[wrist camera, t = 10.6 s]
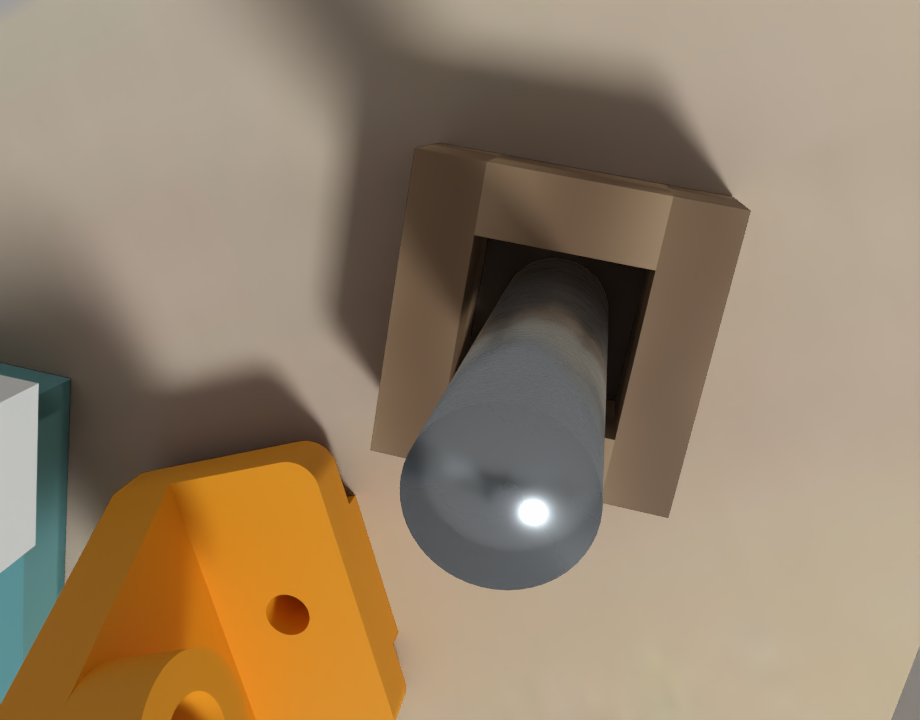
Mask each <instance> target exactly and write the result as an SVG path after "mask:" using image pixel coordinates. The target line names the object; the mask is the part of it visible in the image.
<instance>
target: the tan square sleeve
mask: <svg viewBox="0 0 920 720" xmlns="http://www.w3.org/2000/svg"><path fill="white" fill-rule="evenodd" d="M750 212H751V211H750V210H749V209H748V208H747V207H745V206H744V205H743V204H742V203H740V202H739V201H738V200H736V199H735V198H734V197H730V196H725V195H719V194H714V193H709V192H703V191H698V190H692V189H687V188H681V187H676V186H671V185H665V184H660V183H654V182H649V181H644V180H638V179H633V178H627V177H622V176H616V175H611V174H606V173H600V172H595V171H589V170H584V169H579V168H573V167H568V166H562V165H557V164H551V163H546V162H541V161H535V160H530V159H524V158H519V157H513V156H508V155H503V154H497V153H492V152H486V151H481V150H476V149H470V148H465V147H459V146H454V145H448V144H443V143H436V144H432V145H427V146H423V147H418V148H415V149H414V156H413V163H412V170H411V177H410V184H409V190H408V197H407V204H406V211H405V218H404V224H403V231H402V238H401V245H400V252H399V258H398V265H397V272H396V279H395V286H394V292H393V299H392V306H391V313H390V320H389V327H388V333H387V340H386V347H385V354H384V361H383V367H382V374H381V381H380V388H379V395H378V401H377V408H376V415H375V422H374V429H373V435H372V442H371V449H370V450H372V451H376V452H380V453H385V454H389V455H394V456H398V457H402V458H407V455H408V453H409V451H410V449H411V448H412V446H413V444H414V442H415V441H416V439H417V437H418V436H419V434H420V432H421V431H422V429H423V427H424V426H425V424H426V422H427V421H428V419H429V417H430V416H431V414H432V412H433V410H434V409H435V407H436V405H437V404H438V402H439V400H440V399H441V397H442V395H443V394H444V392H445V390H446V389H447V387H448V385H449V384H450V382H451V380H452V378H453V377H454V375H455V373H456V372H457V370H458V368H459V367H460V365H461V363H462V362H463V360H464V358H465V357H466V355H467V353H468V347H469V342H470V336H471V331H472V325H473V319H474V314H475V308H476V302H477V297H478V291H479V285H480V280H481V274H482V269H483V263H484V257H485V252H486V246H487V240H488V238H492V239H497V240H502V241H507V242H512V243H517V244H522V245H527V246H533V247H538V248H543V249H548V250H553V251H558V252H563V253H568V254H573V255H578V256H584V257H589V258H594V259H599V260H604V261H609V262H614V263H619V264H624V265H630V266H635V267H640V268H645V269H646V272H645V276H644V280H643V284H642V289H641V293H640V297H639V301H638V306H637V310H636V314H635V318H634V322H633V327H632V331H631V335H630V339H629V344H628V348H627V352H626V356H625V361H624V365H623V369H622V373H621V377H620V382H619V386H618V390H617V394H616V399H615V401H614V400H609V399H606V413H605V444H604V475H603V503H605V504H609V505H614V506H618V507H622V508H627V509H631V510H636V511H640V512H644V513H649V514H653V515H658V516H662V517H666V518H668V517H669V513H670V510H671V506H672V502H673V498H674V495H675V491H676V487H677V484H678V480H679V476H680V472H681V469H682V465H683V461H684V457H685V454H686V450H687V446H688V443H689V439H690V435H691V431H692V428H693V424H694V420H695V416H696V413H697V409H698V405H699V402H700V398H701V394H702V390H703V387H704V383H705V379H706V376H707V372H708V368H709V364H710V361H711V357H712V353H713V349H714V346H715V342H716V338H717V335H718V331H719V327H720V323H721V320H722V316H723V312H724V308H725V305H726V301H727V297H728V294H729V290H730V286H731V282H732V279H733V275H734V271H735V267H736V264H737V260H738V256H739V253H740V249H741V245H742V241H743V238H744V234H745V230H746V227H747V223H748V219H749V215H750Z"/></svg>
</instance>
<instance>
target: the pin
mask: <svg viewBox="0 0 920 720" xmlns="http://www.w3.org/2000/svg"><path fill="white" fill-rule="evenodd" d="M608 319H609V306H608V299H607V295H606V293H605V290H604V288H603V286H602V284H601V283H600V281H599V280H598V278H597V277H596V276H595V275H594V274H593V273H592V272H591V271H590V270H588V269H587V268H586V267H584V266H583V265H581V264H579V263H577V262H574V261H572V260H568V259H562V258H547V259H542V260H538V261H535V262H533V263H531V264H529V265H527V266H525V267H524V268H523V269H521V270H520V271H519V272H518V273H517V274H516V275H515V276H514V277H513V278H512V280H511V281H510V282H509V284H508V286H507V287H506V289H505V291H504V293H503V294H502V296H501V298H500V299H499V301H498V303H497V304H496V306H495V308H494V309H493V311H492V313H491V314H490V316H489V318H488V319H487V321H486V323H485V325H484V326H483V328H482V330H481V331H480V333H479V335H478V336H477V338H476V340H475V341H474V343H473V345H472V346H471V348H470V350H469V351H468V353H467V355H466V357H465V358H464V360H463V362H462V363H461V365H460V367H459V368H458V370H457V372H456V373H455V375H454V377H453V378H452V380H451V382H450V384H449V385H448V387H447V389H446V390H445V392H444V394H443V395H442V397H441V399H440V400H439V402H438V404H437V405H436V407H435V409H434V410H433V412H432V414H431V416H430V417H429V419H428V421H427V422H426V424H425V426H424V427H423V429H422V431H421V432H420V434H419V436H418V437H417V439H416V441H415V442H414V444H413V446H412V448H411V449H410V451H409V453H408V455H407V458H406V460H405V463H404V466H403V470H402V474H401V481H400V501H401V506H402V511H403V515H404V518H405V521H406V524H407V526H408V528H409V530H410V532H411V534H412V536H413V538H414V539H415V541H416V542H417V544H418V545H419V547H420V548H421V549H422V550H423V551H424V553H425V554H426V555H427V556H428V557H429V558H430V559H431V560H432V561H433V562H434V563H436V564H437V565H438V566H439V567H441V568H442V569H443V570H445V571H446V572H448V573H450V574H451V575H453V576H455V577H457V578H459V579H461V580H463V581H465V582H468V583H470V584H474V585H477V586H480V587H485V588H490V589H498V590H519V589H525V588H531V587H535V586H538V585H542V584H545V583H547V582H549V581H552V580H554V579H556V578H558V577H559V576H561V575H562V574H564V573H566V572H567V571H568V570H570V569H571V568H572V567H573V566H574V565H576V564H577V563H578V562H579V560H580V559H581V558H582V557H583V556H584V555H585V553H586V552H587V551H588V549H589V548H590V546H591V545H592V543H593V541H594V538H595V536H596V534H597V531H598V528H599V525H600V522H601V516H602V507H603V475H604V444H605V413H606V382H607V351H608Z"/></svg>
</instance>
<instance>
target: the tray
mask: <svg viewBox="0 0 920 720" xmlns="http://www.w3.org/2000/svg"><path fill="white" fill-rule="evenodd" d="M0 375H3V376H7V377H12V378H17V379H21V380H26V381H30V382H35V383H39V389H38V440H37V491H36V541H35V546H34V547H33V548H31V549H30V550H29V551H28V552H26V553H25V554H24V555H22V556H21V557H20V558H19V559H17V560H16V561H15V562H14V563H12V564H11V565H10V566H9V567H7V568H6V569H5V570H3V571H2V572H1V573H0V704H1V703H2V701H3V699H4V697H5V695H6V693H7V691H8V690H9V688H10V686H11V684H12V682H13V680H14V678H15V677H16V675H17V673H18V671H19V669H20V667H21V665H22V664H23V662H24V660H25V658H26V656H27V654H28V652H29V651H30V649H31V647H32V645H33V643H34V641H35V639H36V638H37V636H38V634H39V632H40V630H41V628H42V626H43V625H44V623H45V621H46V619H47V617H48V615H49V613H50V612H51V610H52V608H53V606H54V604H55V602H56V600H57V599H58V597H59V595H60V593H61V591H62V589H63V587H64V577H65V544H66V512H67V479H68V447H69V414H70V381H71V379H69V378H65V377H61V376H56V375H52V374H47V373H43V372H38V371H34V370H30V369H25V368H21V367H16V366H12V365H8V364H3V363H0Z"/></svg>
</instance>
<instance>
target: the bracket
mask: <svg viewBox="0 0 920 720" xmlns="http://www.w3.org/2000/svg"><path fill="white" fill-rule="evenodd" d="M397 634H398V630H397V626H396V623H395V620H394V617H393V614H392V610H391V607H390V604H389V601H388V598H387V594H386V591H385V588H384V585H383V582H382V579H381V575H380V572H379V569H378V566H377V563H376V559H375V556H374V553H373V550H372V547H371V543H370V540H369V537H368V534H367V531H366V527H365V524H364V521H363V518H362V515H361V511H360V508H359V505H358V502H357V499H356V495H354V496H348V497H347V496H346V493H345V490H344V487H343V483H342V480H341V477H340V474H339V471H338V468H337V464H336V462H335V459H334V457H333V456H332V454H331V453H330V452H329V451H328V450H327V449H326V448H325V447H323V446H322V445H320V444H318V443H315V442H312V441H299V442H294V443H289V444H284V445H279V446H274V447H269V448H264V449H259V450H254V451H249V452H244V453H239V454H234V455H229V456H224V457H219V458H214V459H208V460H203V461H198V462H193V463H188V464H183V465H178V466H173V467H168V468H163V469H158V470H153V471H148V472H143V473H141V474H139V475H138V476H137V477H136V478H134V479H133V480H132V481H130V482H129V483H128V484H127V485H125V486H124V487H123V488H121V489H120V490H119V491H118V492H116V493H115V494H114V495H113V496H112V498H111V500H110V502H109V504H108V506H107V507H106V509H105V511H104V513H103V515H102V517H101V519H100V520H99V522H98V524H97V526H96V528H95V530H94V532H93V533H92V535H91V537H90V539H89V541H88V543H87V545H86V547H85V548H84V550H83V552H82V554H81V556H80V558H79V560H78V561H77V563H76V565H75V567H74V569H73V571H72V573H71V574H70V576H69V578H68V580H67V582H66V584H65V586H64V587H63V589H62V591H61V593H60V595H59V597H58V599H57V600H56V602H55V604H54V606H53V608H52V610H51V612H50V613H49V615H48V617H47V619H46V621H45V623H44V625H43V626H42V628H41V630H40V632H39V634H38V636H37V638H36V639H35V641H34V643H33V645H32V647H31V649H30V651H29V652H28V654H27V656H26V658H25V660H24V662H23V664H22V665H21V667H20V669H19V671H18V673H17V675H16V677H15V678H14V680H13V682H12V684H11V686H10V688H9V690H8V691H7V693H6V695H5V697H4V699H3V701H2V703H1V704H0V720H396V718H397V715H398V713H399V710H400V707H401V704H402V701H403V698H404V696H405V692H406V683H405V680H404V677H403V673H402V670H401V667H400V664H399V661H398V658H397V654H396V651H395V648H394V645H393V644H394V641H395V639H396V637H397Z"/></svg>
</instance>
